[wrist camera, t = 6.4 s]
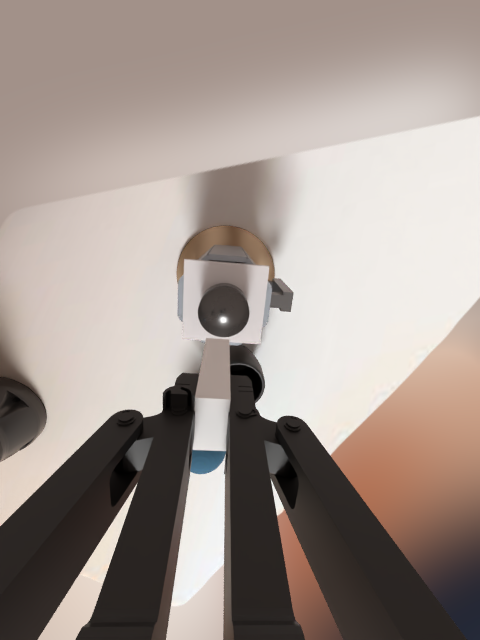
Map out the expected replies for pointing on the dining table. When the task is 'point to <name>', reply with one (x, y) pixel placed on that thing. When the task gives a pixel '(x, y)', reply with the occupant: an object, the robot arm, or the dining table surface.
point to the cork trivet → (226, 237)
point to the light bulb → (206, 460)
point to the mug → (247, 368)
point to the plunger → (223, 310)
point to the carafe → (239, 274)
